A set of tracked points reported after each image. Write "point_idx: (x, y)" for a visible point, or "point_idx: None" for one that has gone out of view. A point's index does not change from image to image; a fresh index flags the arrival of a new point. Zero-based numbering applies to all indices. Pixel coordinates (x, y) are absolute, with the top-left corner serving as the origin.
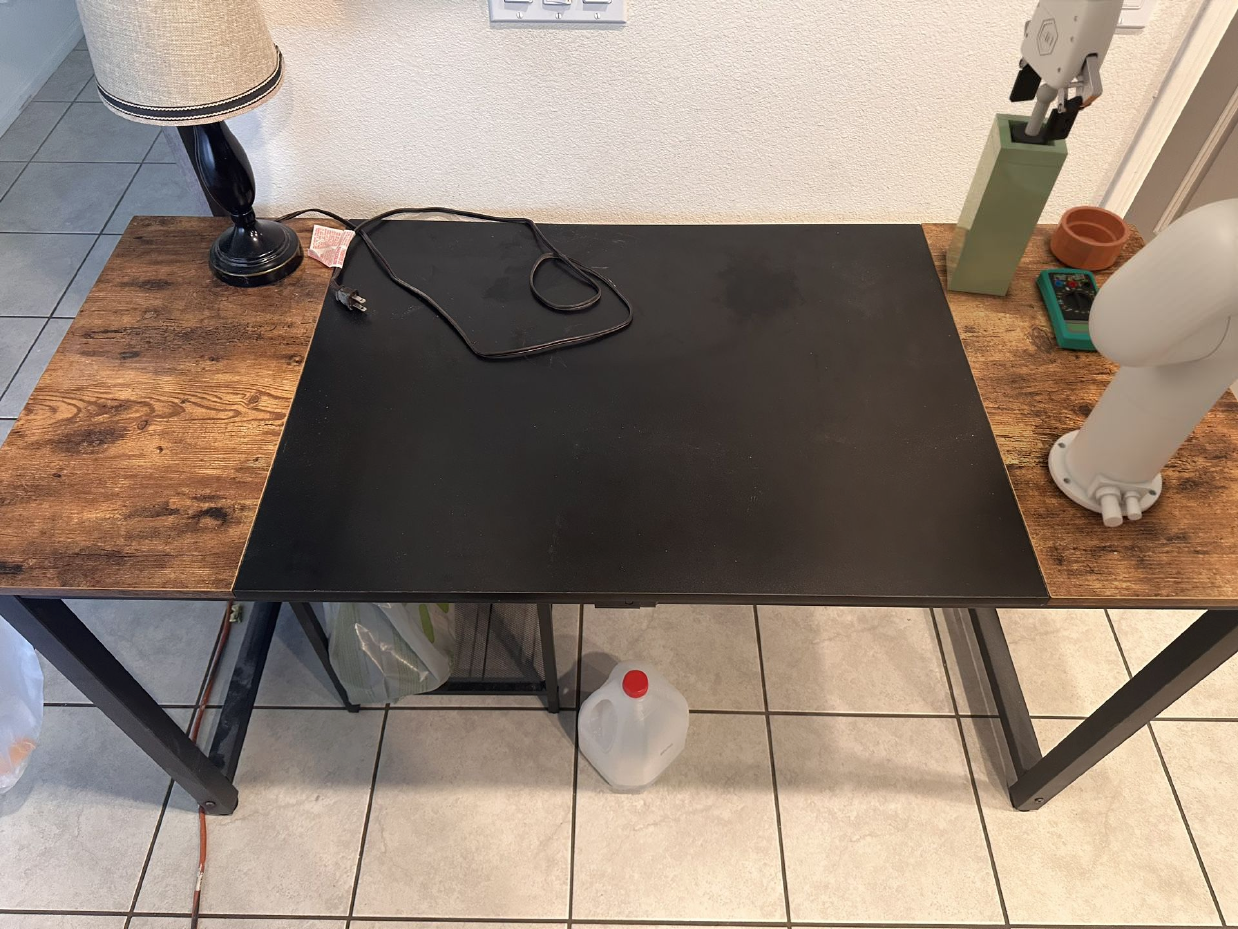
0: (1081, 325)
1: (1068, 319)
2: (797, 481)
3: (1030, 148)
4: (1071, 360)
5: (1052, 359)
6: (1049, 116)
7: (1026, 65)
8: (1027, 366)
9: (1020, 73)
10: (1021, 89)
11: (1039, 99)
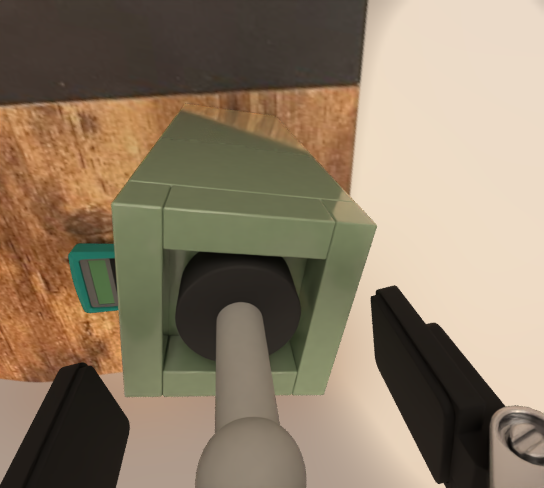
0: (105, 277)
1: (110, 264)
2: None
3: (128, 305)
4: (60, 254)
5: (54, 231)
6: (28, 467)
7: (489, 466)
8: (26, 196)
9: (455, 401)
10: (395, 352)
11: (219, 436)
